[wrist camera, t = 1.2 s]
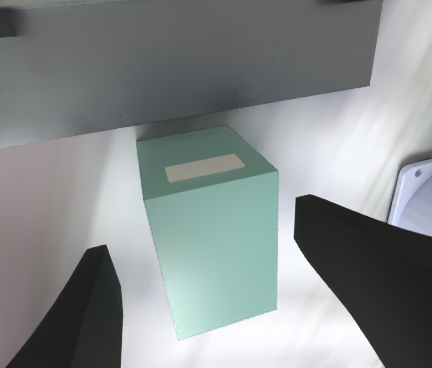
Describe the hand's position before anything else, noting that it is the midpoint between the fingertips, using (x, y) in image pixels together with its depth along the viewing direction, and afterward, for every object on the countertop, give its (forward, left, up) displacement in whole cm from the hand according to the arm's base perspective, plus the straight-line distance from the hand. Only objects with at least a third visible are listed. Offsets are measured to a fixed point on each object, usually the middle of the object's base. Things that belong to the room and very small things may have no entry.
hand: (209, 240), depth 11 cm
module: (0, 0, -4) cm, 4 cm away
